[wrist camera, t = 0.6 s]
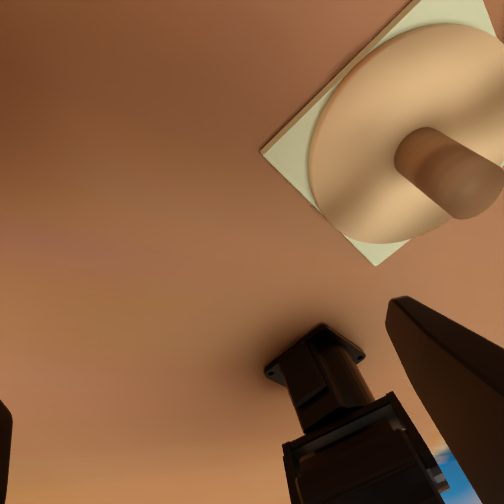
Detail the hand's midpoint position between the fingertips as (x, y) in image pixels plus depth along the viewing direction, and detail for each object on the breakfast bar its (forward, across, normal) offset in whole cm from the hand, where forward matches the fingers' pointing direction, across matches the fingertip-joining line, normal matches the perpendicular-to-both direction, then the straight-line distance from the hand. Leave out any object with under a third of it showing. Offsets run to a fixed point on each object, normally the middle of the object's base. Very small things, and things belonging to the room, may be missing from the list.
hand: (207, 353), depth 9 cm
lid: (+13, -13, +2) cm, 18 cm away
